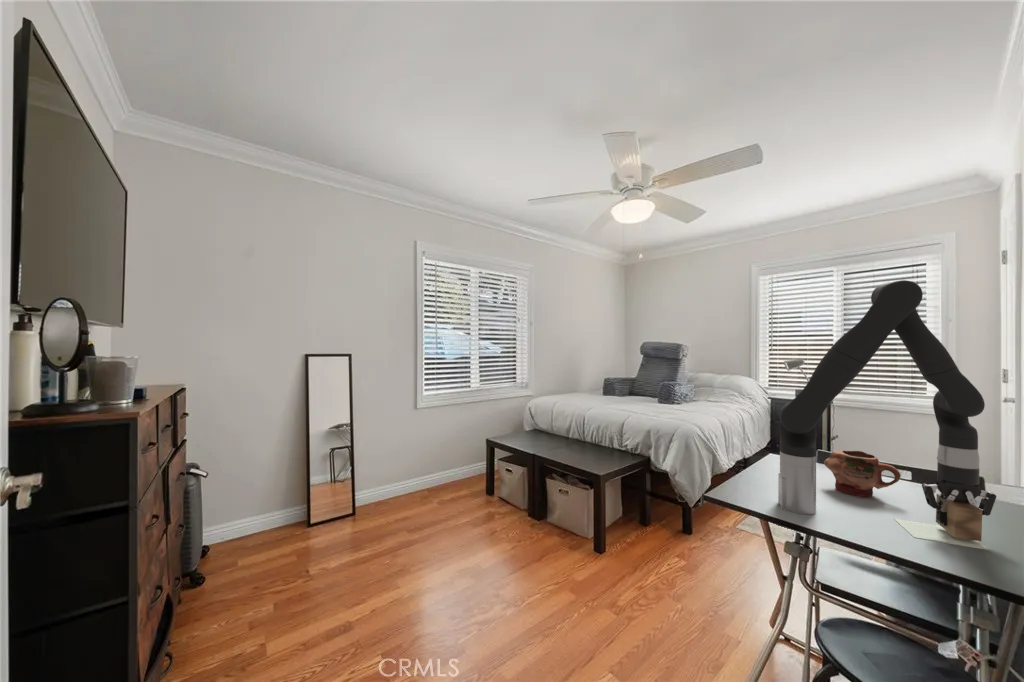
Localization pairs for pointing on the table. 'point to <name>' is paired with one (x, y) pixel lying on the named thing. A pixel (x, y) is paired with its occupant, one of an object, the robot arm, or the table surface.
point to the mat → (936, 534)
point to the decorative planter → (858, 472)
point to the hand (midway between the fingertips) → (957, 526)
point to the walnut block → (963, 520)
